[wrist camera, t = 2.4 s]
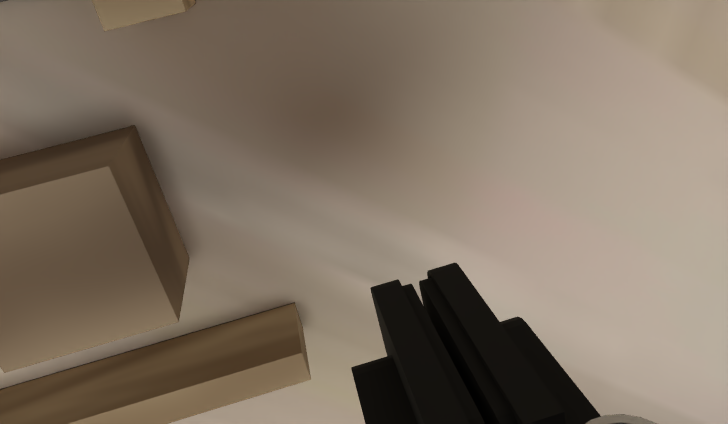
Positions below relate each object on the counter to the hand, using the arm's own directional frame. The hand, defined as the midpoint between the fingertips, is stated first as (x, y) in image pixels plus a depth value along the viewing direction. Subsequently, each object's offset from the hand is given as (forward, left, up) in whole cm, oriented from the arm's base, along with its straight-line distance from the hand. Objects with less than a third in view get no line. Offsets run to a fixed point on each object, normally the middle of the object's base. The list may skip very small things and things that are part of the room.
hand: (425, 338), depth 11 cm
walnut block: (-1, -9, -10) cm, 13 cm away
